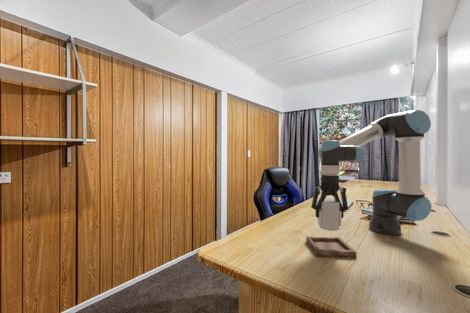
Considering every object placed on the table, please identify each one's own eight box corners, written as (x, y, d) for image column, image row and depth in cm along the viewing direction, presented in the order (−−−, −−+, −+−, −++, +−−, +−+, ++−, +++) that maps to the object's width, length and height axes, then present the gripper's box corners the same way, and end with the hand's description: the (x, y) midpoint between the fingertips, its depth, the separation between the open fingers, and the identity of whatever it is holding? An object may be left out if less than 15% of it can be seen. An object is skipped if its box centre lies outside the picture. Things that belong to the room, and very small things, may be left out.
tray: (339, 242, 108) (339, 237, 108) (356, 257, 92) (356, 251, 92) (306, 241, 108) (306, 236, 108) (317, 256, 92) (317, 250, 92)
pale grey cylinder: (341, 231, 95) (341, 203, 95) (321, 229, 97) (321, 202, 97) (336, 225, 103) (336, 199, 103) (318, 224, 105) (318, 198, 105)
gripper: (349, 174, 103) (348, 222, 103) (304, 173, 104) (303, 221, 104) (357, 175, 96) (357, 228, 96) (308, 175, 96) (308, 227, 97)
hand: (329, 224), depth 100 cm, fingers closed on pale grey cylinder, 8 cm apart
